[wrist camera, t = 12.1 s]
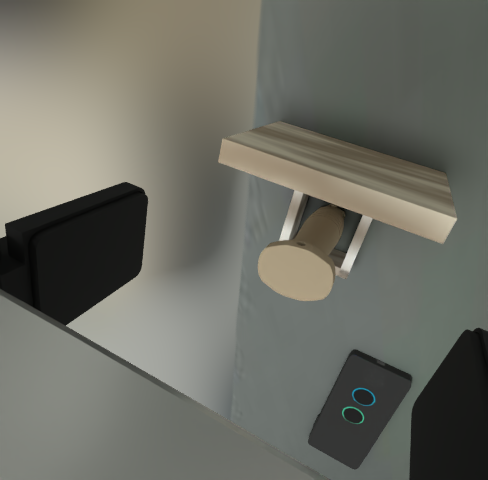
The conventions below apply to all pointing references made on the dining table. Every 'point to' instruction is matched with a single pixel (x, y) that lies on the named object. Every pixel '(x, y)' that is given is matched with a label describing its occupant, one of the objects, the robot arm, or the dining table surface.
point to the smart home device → (358, 408)
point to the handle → (304, 257)
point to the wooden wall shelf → (344, 182)
